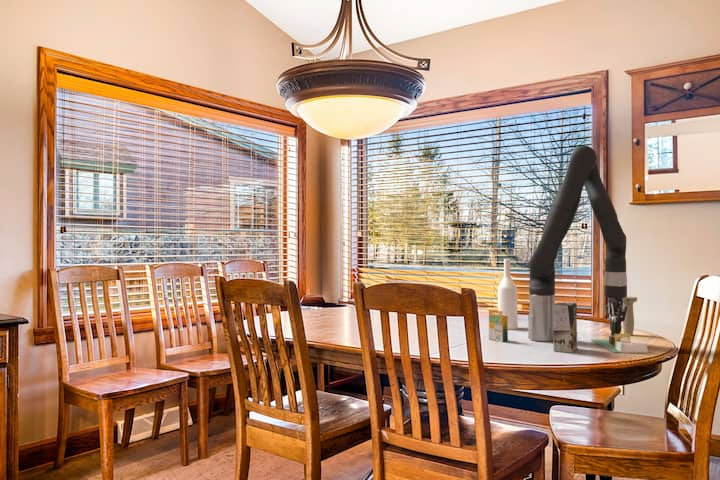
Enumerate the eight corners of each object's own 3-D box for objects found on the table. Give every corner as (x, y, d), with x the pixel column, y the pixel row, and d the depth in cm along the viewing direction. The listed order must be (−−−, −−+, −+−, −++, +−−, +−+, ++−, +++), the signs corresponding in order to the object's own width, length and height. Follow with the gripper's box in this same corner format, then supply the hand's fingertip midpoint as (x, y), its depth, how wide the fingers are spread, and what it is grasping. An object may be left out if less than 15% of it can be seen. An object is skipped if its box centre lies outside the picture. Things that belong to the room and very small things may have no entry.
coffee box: (572, 353, 183) (572, 305, 183) (553, 351, 186) (552, 304, 186) (577, 348, 190) (577, 302, 190) (558, 346, 194) (558, 301, 194)
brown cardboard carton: (611, 344, 194) (611, 337, 194) (609, 343, 196) (608, 336, 196) (627, 344, 194) (627, 337, 194) (624, 343, 196) (624, 336, 196)
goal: (620, 352, 182) (620, 344, 182) (615, 350, 186) (615, 341, 186) (647, 353, 181) (647, 344, 181) (641, 350, 186) (641, 341, 186)
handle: (637, 336, 211) (637, 298, 211) (619, 335, 214) (619, 297, 214) (637, 334, 215) (637, 296, 215) (619, 333, 218) (619, 296, 218)
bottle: (519, 329, 230) (519, 259, 230) (500, 329, 230) (500, 259, 230) (514, 326, 238) (513, 258, 238) (496, 326, 238) (495, 258, 238)
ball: (621, 349, 188) (622, 340, 187) (617, 343, 191) (618, 335, 190) (631, 349, 188) (633, 340, 186) (627, 344, 191) (629, 335, 190)
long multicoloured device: (607, 341, 199) (606, 315, 199) (621, 341, 199) (620, 315, 199) (615, 345, 191) (615, 318, 191) (630, 345, 191) (630, 318, 191)
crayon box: (508, 341, 204) (508, 310, 204) (502, 342, 203) (502, 311, 203) (494, 338, 211) (494, 308, 211) (488, 339, 209) (488, 309, 209)
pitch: (614, 352, 182) (614, 351, 182) (591, 340, 204) (591, 339, 204) (647, 353, 181) (647, 351, 181) (620, 340, 203) (620, 339, 203)
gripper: (597, 282, 204) (597, 328, 204) (613, 286, 190) (613, 335, 190) (617, 282, 204) (617, 328, 204) (634, 285, 190) (635, 335, 190)
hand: (615, 331), depth 197 cm, fingers closed on long multicoloured device, 3 cm apart
